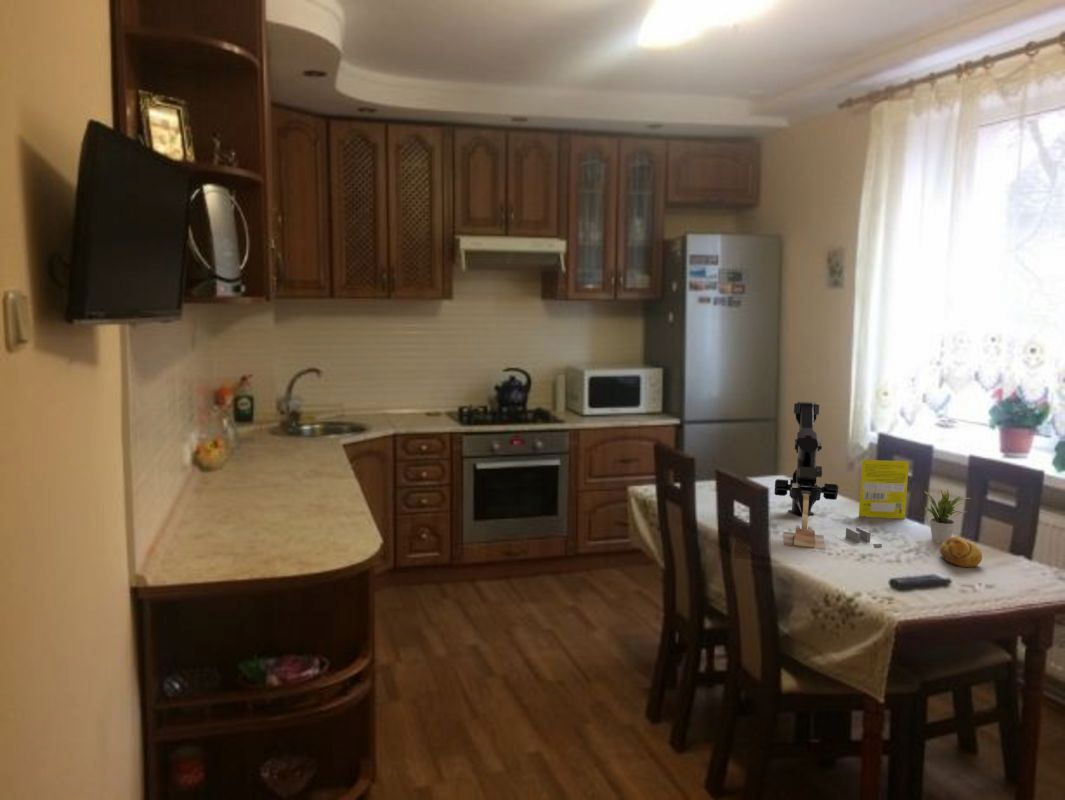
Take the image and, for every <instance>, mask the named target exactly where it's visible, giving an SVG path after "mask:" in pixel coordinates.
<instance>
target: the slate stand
mask: <svg viewBox="0 0 1065 800" xmlns="http://www.w3.org/2000/svg"><path fill="white" fill-rule="evenodd" d="M871 533H872V532H871V531H868V530H867V529H864V528H863V527H860V526H856V528H855V529H853V528H851V527H846V528H845V534H840V535H837V534H836V535H835V534H834V537H835V538H838V539H839V540H842V541H844V542H845V543H848V545H851V546H864V545H873V547H874V548H880V547H881V548H882V547H883V543H882V542H880V541H878V540H876V539H874V538H872V537H871Z"/></svg>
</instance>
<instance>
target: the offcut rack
mask: <svg viewBox="0 0 1065 800" xmlns="http://www.w3.org/2000/svg"><path fill="white" fill-rule="evenodd" d="M795 527H796V528H799V529H801V526H800V525H796V526H795ZM796 528H795V529H796ZM807 529H811V530H813V528H812V526H808V525H807ZM782 532H783V534H782V535H783V546H784V547H791V548H792V547H795V548H805V549H817V550H824V551H825V550H827V548H826V543H825V538H824V535H822V534H815V539H816V542H815V547H810V546H799V545H794V534H795V533H796V532H790V531H782Z"/></svg>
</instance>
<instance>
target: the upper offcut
mask: <svg viewBox="0 0 1065 800" xmlns="http://www.w3.org/2000/svg"><path fill="white" fill-rule="evenodd" d="M794 533H795V536H796V538H802V539H814V540H815V535H816V532H815V529H812V530H811V529H808V528H807V529H802V528H800V529H799V528H795V532H794Z"/></svg>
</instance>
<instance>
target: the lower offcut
mask: <svg viewBox="0 0 1065 800" xmlns="http://www.w3.org/2000/svg"><path fill="white" fill-rule="evenodd" d="M815 542H816V539H815V540H814V539H802V538H796V536H795V534H794V545H799V546H810V547H815Z"/></svg>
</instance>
